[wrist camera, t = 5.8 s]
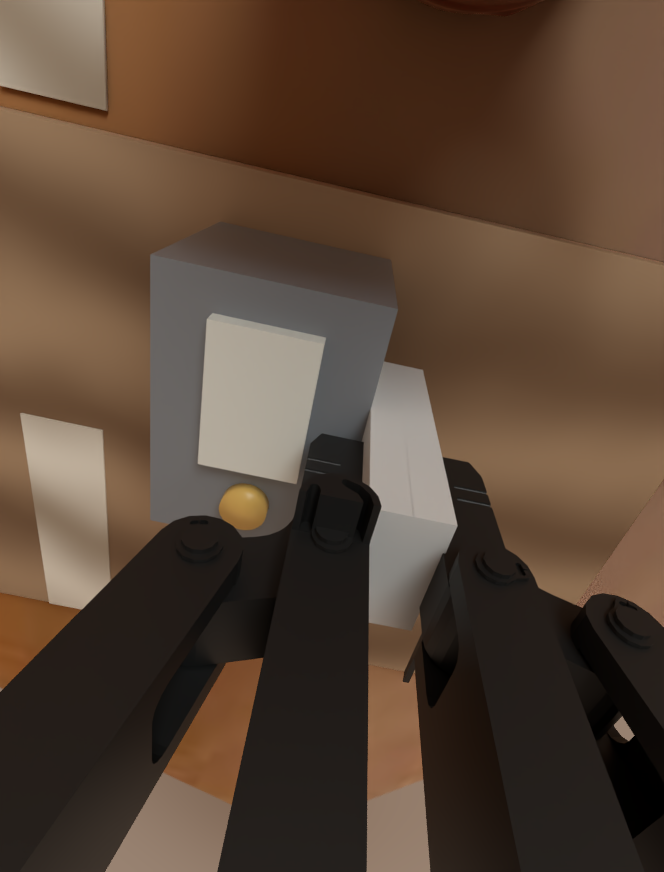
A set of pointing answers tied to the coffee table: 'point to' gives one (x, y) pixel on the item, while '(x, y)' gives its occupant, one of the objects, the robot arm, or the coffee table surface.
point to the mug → (481, 6)
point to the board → (409, 346)
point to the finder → (257, 368)
